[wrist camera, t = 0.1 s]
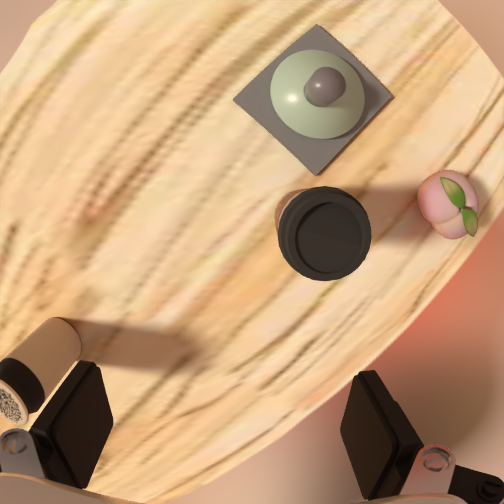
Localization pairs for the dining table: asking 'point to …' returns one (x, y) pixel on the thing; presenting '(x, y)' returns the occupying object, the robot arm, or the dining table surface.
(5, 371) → the travel mug
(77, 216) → the dining table surface
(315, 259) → the coffee cup
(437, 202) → the decorative fruit
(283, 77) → the lid
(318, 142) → the mat
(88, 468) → the robot arm
